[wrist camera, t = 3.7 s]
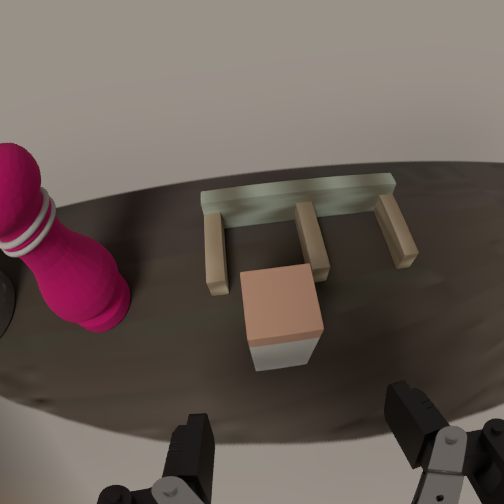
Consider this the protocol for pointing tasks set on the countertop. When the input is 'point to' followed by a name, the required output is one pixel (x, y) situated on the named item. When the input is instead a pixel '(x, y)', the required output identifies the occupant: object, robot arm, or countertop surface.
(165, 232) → the countertop surface
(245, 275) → the plug
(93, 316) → the pepper mill
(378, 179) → the comb rack
